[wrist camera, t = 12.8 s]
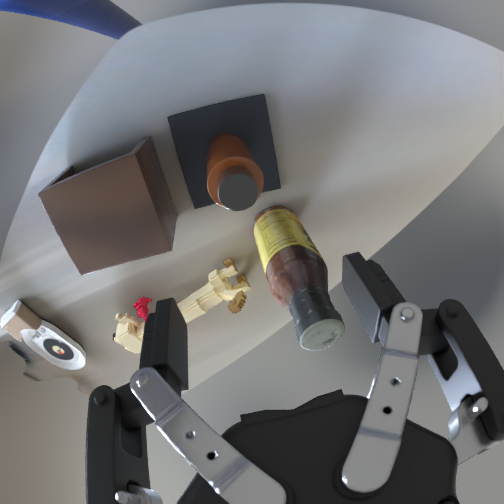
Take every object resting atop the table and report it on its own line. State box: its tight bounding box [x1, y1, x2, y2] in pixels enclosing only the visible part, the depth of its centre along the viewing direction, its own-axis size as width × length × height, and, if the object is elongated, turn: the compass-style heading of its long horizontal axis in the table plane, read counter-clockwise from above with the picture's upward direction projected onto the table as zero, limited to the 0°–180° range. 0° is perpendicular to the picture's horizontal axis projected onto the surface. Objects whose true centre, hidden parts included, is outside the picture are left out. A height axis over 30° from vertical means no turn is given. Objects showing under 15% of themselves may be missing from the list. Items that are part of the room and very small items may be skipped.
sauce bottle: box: [253, 206, 345, 351], centre depth 31 cm, size 6×6×20 cm
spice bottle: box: [207, 134, 264, 211], centre depth 27 cm, size 5×5×12 cm
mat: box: [168, 94, 281, 209], centre depth 32 cm, size 12×11×1 cm
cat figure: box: [113, 258, 250, 354], centre depth 41 cm, size 10×9×25 cm
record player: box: [0, 299, 86, 370], centre depth 44 cm, size 12×3×20 cm
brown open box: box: [38, 136, 177, 275], centre depth 30 cm, size 11×12×8 cm
